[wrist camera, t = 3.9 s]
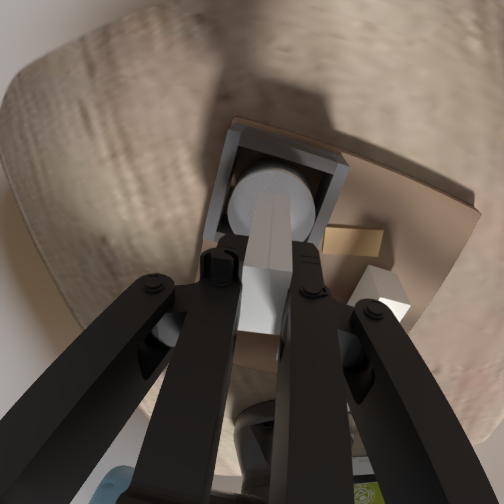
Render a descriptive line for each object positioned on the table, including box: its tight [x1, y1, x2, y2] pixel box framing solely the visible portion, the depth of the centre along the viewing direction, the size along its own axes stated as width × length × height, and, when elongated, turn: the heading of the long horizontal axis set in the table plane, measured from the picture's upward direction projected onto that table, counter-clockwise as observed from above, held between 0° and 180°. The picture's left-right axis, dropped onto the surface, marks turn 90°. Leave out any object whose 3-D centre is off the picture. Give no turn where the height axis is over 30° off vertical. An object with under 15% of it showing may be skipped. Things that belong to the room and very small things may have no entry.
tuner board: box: [194, 116, 482, 374], centre depth 23 cm, size 20×18×4 cm
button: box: [228, 158, 315, 242], centre depth 17 cm, size 4×4×3 cm
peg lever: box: [347, 265, 411, 411], centre depth 22 cm, size 12×4×5 cm, turn 165°
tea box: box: [352, 457, 385, 504], centre depth 37 cm, size 15×10×15 cm, turn 89°
